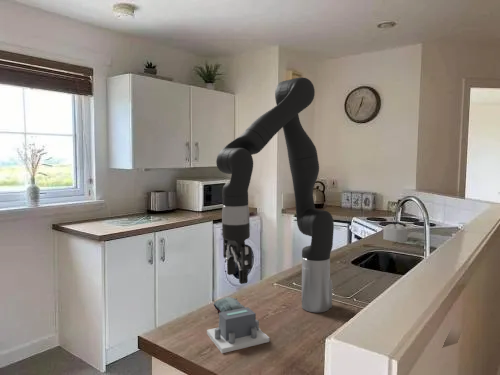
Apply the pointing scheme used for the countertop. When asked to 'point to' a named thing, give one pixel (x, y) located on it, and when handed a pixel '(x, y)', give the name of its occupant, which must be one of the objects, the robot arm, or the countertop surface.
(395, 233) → the lumpy-topped squat cylinder
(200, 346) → the countertop surface
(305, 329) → the countertop surface
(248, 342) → the pegged holder plate
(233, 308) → the packaged food
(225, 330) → the block
